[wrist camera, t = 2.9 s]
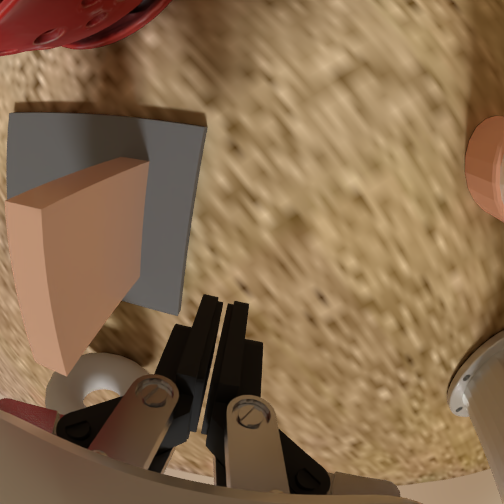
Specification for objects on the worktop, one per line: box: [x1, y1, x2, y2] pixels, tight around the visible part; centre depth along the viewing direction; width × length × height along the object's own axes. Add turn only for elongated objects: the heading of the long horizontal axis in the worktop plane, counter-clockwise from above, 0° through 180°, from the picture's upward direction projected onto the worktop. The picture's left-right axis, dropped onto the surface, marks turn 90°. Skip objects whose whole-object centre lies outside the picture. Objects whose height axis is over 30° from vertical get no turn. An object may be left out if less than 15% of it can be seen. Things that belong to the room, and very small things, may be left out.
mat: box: [7, 112, 207, 316], centre depth 20 cm, size 16×13×1 cm
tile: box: [5, 157, 150, 376], centre depth 15 cm, size 2×8×10 cm, turn 168°
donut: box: [45, 353, 149, 415], centre depth 21 cm, size 10×3×10 cm, turn 80°
